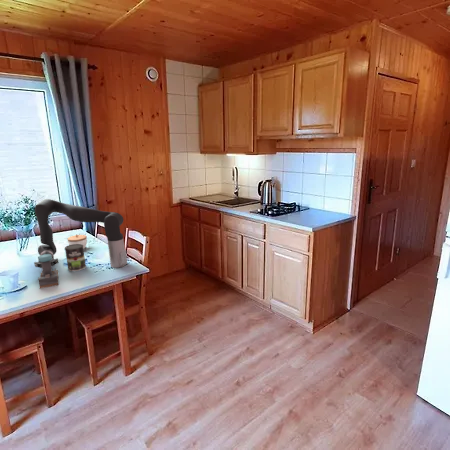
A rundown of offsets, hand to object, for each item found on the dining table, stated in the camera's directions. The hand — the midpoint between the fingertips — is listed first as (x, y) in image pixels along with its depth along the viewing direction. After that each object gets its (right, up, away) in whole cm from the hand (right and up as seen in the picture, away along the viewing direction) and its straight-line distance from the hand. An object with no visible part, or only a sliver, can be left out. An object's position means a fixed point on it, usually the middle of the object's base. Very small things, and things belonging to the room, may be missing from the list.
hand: (46, 267), depth 181 cm
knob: (+2, -7, -1) cm, 7 cm away
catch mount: (+1, -7, +2) cm, 8 cm away
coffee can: (+9, -3, +18) cm, 21 cm away
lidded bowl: (-5, +6, +52) cm, 53 cm away
